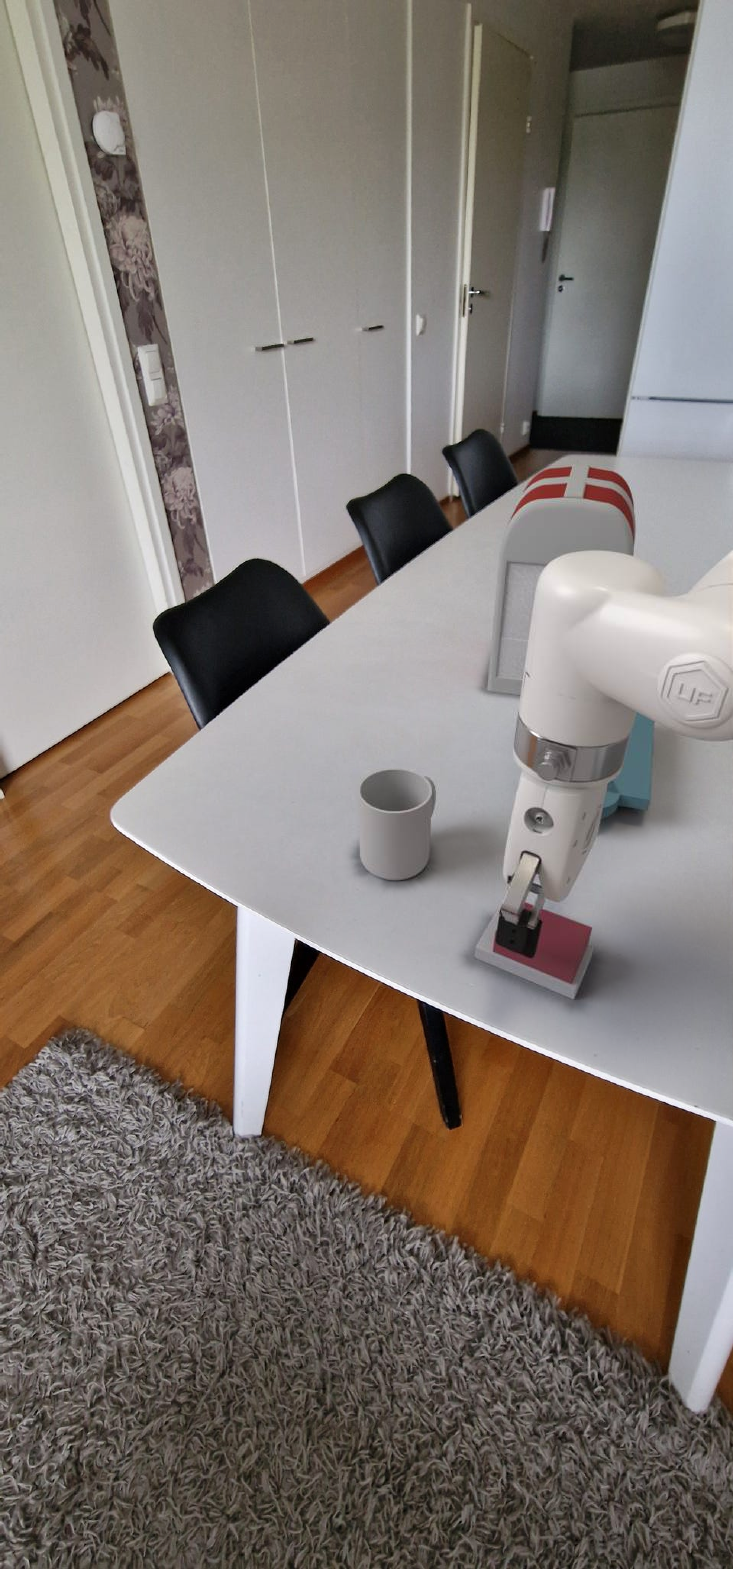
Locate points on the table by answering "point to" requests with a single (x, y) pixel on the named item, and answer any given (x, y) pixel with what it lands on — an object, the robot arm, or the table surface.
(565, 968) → the maroon block on base
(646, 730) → the board
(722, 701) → the robot arm
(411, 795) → the cup
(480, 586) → the table surface
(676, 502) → the table surface
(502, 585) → the red-striped rounded block
